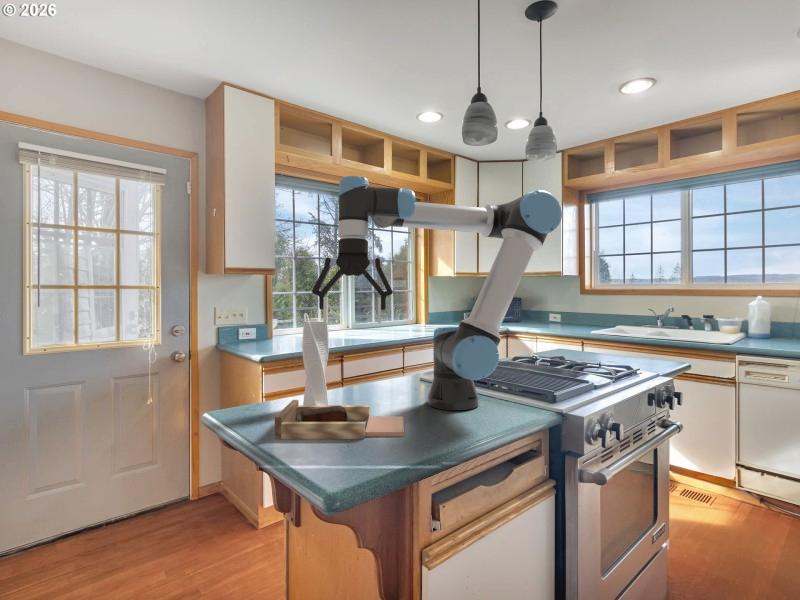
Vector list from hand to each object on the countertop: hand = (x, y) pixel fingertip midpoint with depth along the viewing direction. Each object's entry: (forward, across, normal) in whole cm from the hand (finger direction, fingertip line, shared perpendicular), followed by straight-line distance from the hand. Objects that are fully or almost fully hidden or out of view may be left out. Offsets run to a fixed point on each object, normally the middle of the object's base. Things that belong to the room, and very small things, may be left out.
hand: (352, 322), depth 109 cm
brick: (+26, +5, +2) cm, 27 cm away
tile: (+26, -9, +3) cm, 27 cm away
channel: (+26, +5, +2) cm, 27 cm away
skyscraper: (+26, +12, -16) cm, 33 cm away
